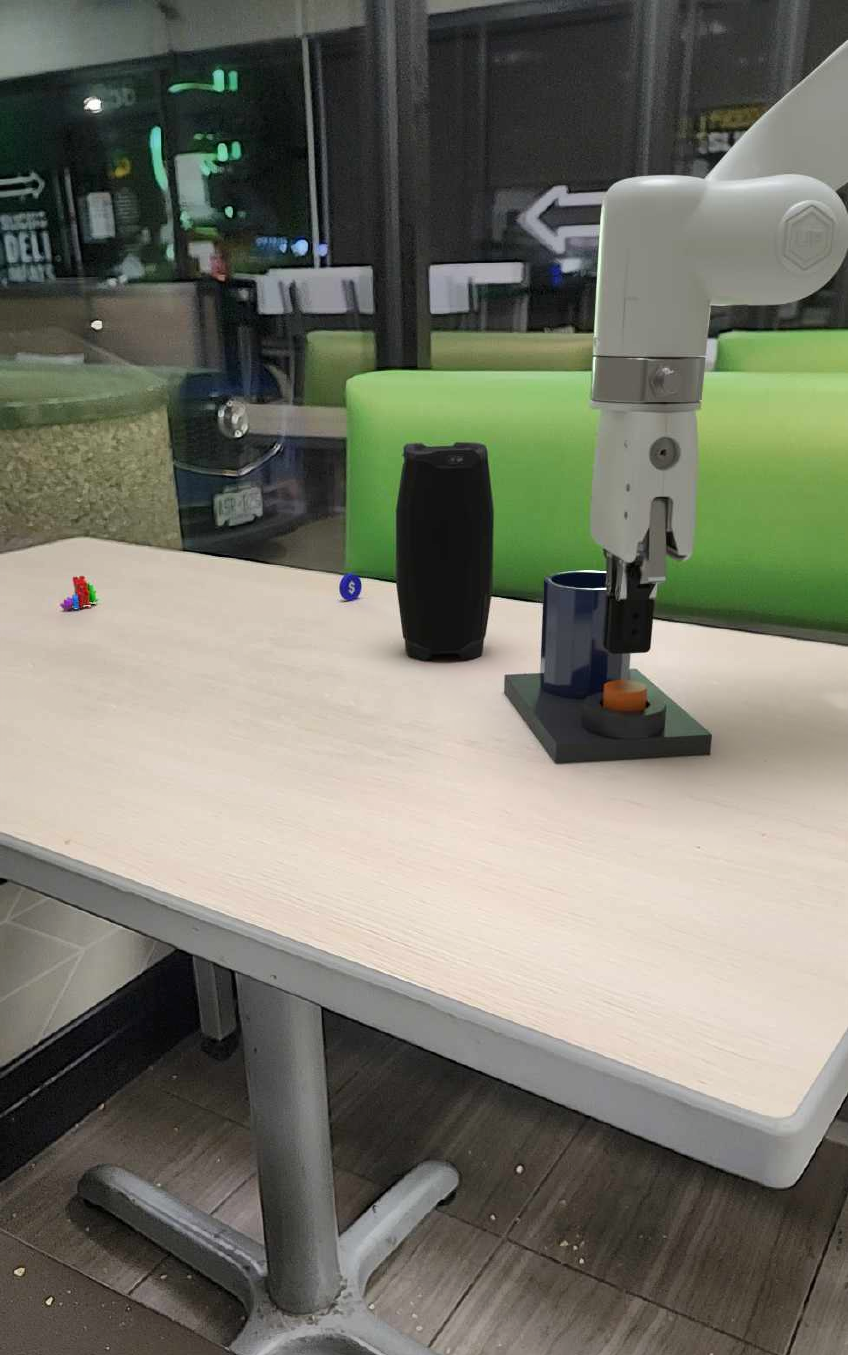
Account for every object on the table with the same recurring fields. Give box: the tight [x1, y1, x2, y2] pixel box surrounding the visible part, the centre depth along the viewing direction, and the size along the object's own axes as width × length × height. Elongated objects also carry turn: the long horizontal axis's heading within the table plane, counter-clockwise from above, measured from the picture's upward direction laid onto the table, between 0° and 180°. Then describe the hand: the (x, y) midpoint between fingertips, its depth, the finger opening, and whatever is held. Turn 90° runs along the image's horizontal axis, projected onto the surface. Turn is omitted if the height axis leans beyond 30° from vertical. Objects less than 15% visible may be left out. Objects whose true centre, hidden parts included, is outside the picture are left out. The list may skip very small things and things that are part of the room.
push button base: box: [503, 668, 713, 765], centre depth 93 cm, size 12×18×4 cm, turn 9°
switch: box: [603, 680, 647, 711], centre depth 87 cm, size 3×3×2 cm
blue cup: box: [539, 570, 632, 699], centre depth 95 cm, size 7×7×9 cm
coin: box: [338, 573, 363, 601], centre depth 134 cm, size 3×1×3 cm, turn 138°
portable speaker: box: [395, 441, 495, 662], centre depth 109 cm, size 9×9×20 cm
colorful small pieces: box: [59, 575, 100, 611], centre depth 131 cm, size 5×3×4 cm, turn 131°
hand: (626, 649), depth 85 cm, fingers closed
